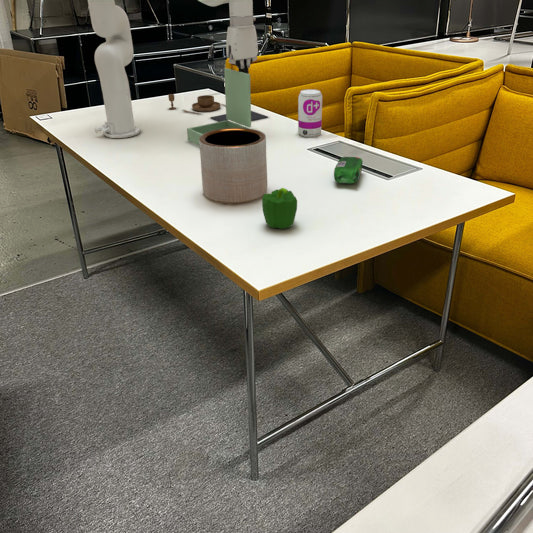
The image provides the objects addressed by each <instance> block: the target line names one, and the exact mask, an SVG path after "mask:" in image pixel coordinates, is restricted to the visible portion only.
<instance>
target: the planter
mask: <svg viewBox="0 0 533 533" xmlns="http://www.w3.org/2000/svg"><path fill="white" fill-rule="evenodd" d="M248 128H249V127H247V128H224V129H217V130H213V131H209V132H207V133H205V134H203V135H201V136H200V138H199V144H200V145H199V151H200V152H199V157H200V169H201V170H200V172H201V173H200V174H201V185H202V186H201V188H202V192H203V195H204V196H205V197H206V198H208V199H209V200H211V201H214V202H217V203H221V204H234V205H235V204H244V203H249V202H252V201H253V202H254V201H256V200H258V199H259V198H262V197H263V195H264V194H267V191H268V164H267V160H268V159H267V136H266V134H265V133H264V132H263V131H260V130H257V129H255V128H249V129H248Z"/></svg>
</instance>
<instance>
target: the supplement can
mask: <svg viewBox="0 0 533 533" xmlns="http://www.w3.org/2000/svg"><path fill="white" fill-rule="evenodd" d="M297 98H298V101H297V102H298V105H297V106H298V108H297V110H298V111H297V116H298V117H297V133H298V134H299V136H301V137H304V138H315V137H319V136H320V135H321V134H322V123H323V120H322V118H323V114H322V113H323V94H322V92H321V90H319V89H315V88H313V89H311V88H310V89H309V88H308V89H301V90H300V92H299V94H298V97H297Z"/></svg>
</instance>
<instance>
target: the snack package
mask: <svg viewBox="0 0 533 533" xmlns="http://www.w3.org/2000/svg"><path fill="white" fill-rule="evenodd" d="M363 161H364V160H363V159H362V158H361V157H359V156H342V157H340V158H339V159H338V161H337V164H336V165H335V167H334V168H333V169H334V170H333V179H334V181H335V182H336V184H350V185H351V184H356V183H357V182H358V180H359V179H360V176H361V173H362V170H363Z"/></svg>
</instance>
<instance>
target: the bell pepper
mask: <svg viewBox="0 0 533 533" xmlns="http://www.w3.org/2000/svg"><path fill="white" fill-rule="evenodd" d="M261 205H262V214H263V217H264V220H265V223H266V225H267V226H268V227H269V228H272V229H276V228H277V229H280V230H281V229H282V230H285V229H289V228H291V227H292V226H293V224H294V223H295V220H296V214H297V210H298V199H297V197H296V196H295V195H294V193H293V192H292V190H288V189H286V188H285V187H281V188H279V189H274V190H272V191H271V193H265V194H264V195H263V196H261Z"/></svg>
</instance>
